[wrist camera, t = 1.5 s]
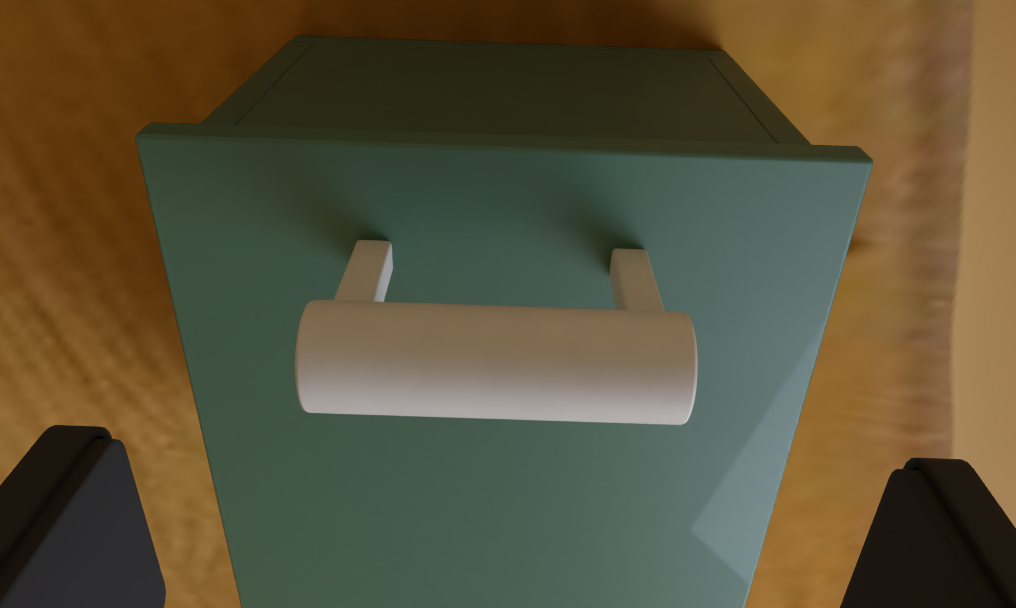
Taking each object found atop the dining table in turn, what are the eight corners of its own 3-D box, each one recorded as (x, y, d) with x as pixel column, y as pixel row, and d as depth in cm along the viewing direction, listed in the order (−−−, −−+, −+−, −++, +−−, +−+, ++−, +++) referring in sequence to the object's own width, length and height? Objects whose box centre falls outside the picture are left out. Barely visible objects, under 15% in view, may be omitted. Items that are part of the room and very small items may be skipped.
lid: (149, 120, 15) (-9, 245, 10) (860, 144, 15) (1003, 278, 11) (263, 653, 23) (203, 845, 19) (715, 667, 24) (761, 862, 19)
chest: (294, 35, 25) (159, 159, 15) (726, 49, 25) (848, 182, 15) (336, 419, 33) (264, 651, 24) (660, 430, 33) (715, 665, 24)
